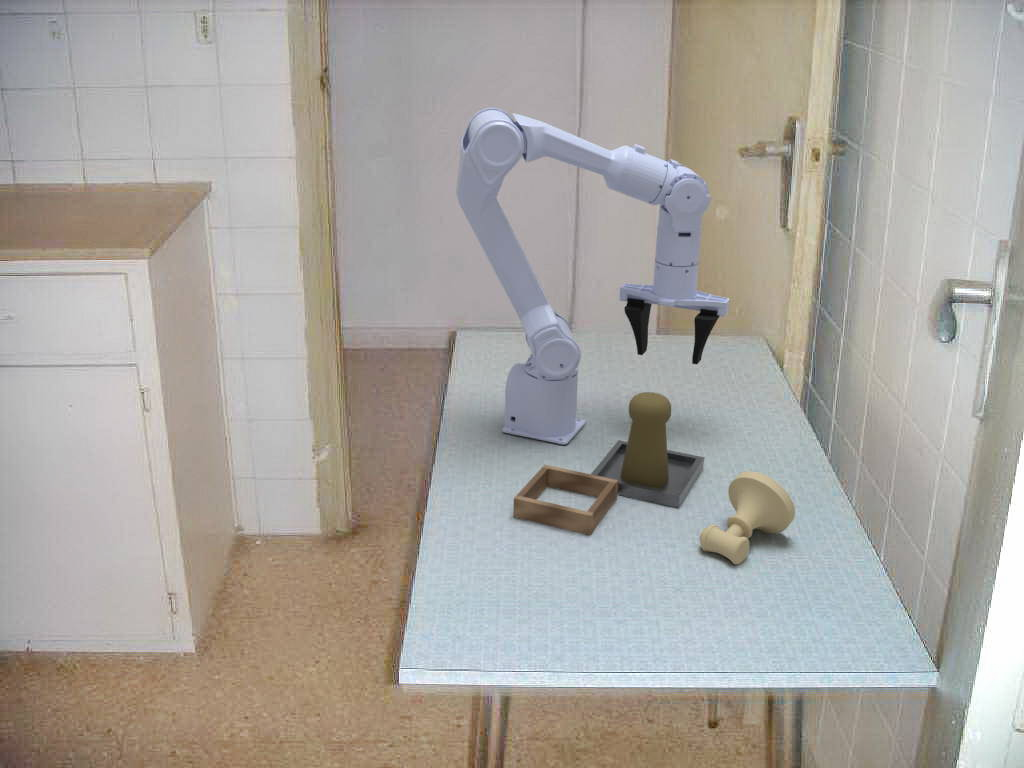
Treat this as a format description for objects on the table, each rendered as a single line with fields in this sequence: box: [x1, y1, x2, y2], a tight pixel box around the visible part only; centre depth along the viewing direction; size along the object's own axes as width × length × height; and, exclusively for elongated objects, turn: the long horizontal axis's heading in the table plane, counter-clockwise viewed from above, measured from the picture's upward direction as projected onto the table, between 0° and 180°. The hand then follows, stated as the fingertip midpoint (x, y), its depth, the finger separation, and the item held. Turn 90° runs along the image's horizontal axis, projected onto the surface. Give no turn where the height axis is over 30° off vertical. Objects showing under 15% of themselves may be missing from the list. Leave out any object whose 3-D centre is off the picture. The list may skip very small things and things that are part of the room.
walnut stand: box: [512, 464, 618, 536], centre depth 129 cm, size 10×10×2 cm
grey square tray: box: [590, 439, 705, 509], centre depth 137 cm, size 12×12×2 cm
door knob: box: [699, 470, 796, 565], centre depth 122 cm, size 10×8×8 cm
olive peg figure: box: [621, 391, 672, 488], centre depth 134 cm, size 6×6×11 cm
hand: (669, 357), depth 148 cm, fingers open, 7 cm apart
